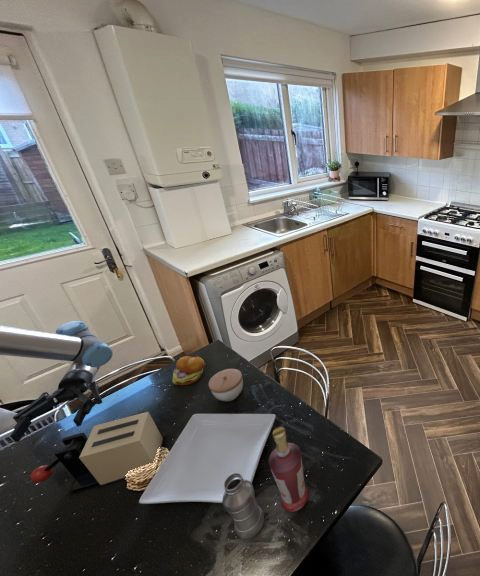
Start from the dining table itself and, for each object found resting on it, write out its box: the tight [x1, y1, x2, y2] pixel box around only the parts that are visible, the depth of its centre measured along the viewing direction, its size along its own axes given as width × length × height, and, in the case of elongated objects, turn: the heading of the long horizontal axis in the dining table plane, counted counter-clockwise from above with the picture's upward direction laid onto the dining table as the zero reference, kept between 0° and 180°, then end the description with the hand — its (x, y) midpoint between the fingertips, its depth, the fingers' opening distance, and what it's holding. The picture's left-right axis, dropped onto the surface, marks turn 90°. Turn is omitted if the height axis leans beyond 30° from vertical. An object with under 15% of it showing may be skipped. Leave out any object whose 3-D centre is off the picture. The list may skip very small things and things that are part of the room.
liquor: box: [268, 426, 309, 513], centre depth 75 cm, size 7×7×28 cm
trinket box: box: [208, 368, 244, 402], centre depth 111 cm, size 11×11×9 cm
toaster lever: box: [30, 439, 83, 484], centre depth 82 cm, size 14×4×4 cm
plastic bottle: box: [221, 473, 265, 540], centre depth 72 cm, size 6×7×20 cm
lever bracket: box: [54, 432, 100, 493], centre depth 85 cm, size 6×9×14 cm, turn 22°
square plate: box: [138, 413, 277, 505], centre depth 91 cm, size 27×27×4 cm
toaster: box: [79, 411, 165, 487], centre depth 88 cm, size 13×10×13 cm
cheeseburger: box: [172, 355, 205, 386], centre depth 119 cm, size 10×11×10 cm
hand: (46, 430), depth 87 cm, fingers open, 13 cm apart
